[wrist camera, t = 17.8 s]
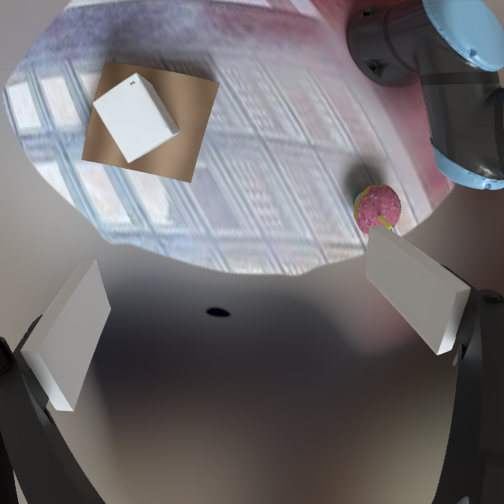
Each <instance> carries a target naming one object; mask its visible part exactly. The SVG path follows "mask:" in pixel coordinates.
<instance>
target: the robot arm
mask: <svg viewBox="0 0 504 504" xmlns="http://www.w3.org/2000/svg"><path fill="white" fill-rule="evenodd" d="M347 43H348V48H349V51H350V54H351V56H352V58H353V60H354V62H355V63H356V65H357V66H358V68H359V69H360V70H361V71H362V72H363V73H364V74H365V75H366V76H367V77H368V78H369V79H371V80H372V81H374V82H375V83H377V84H380V85H382V86H386V87H392V88H396V87H405V86H409V85H411V84H413V83H415V82H416V81H418V80H419V79H420V81H421V87H422V91H423V96H424V101H425V106H426V111H427V116H428V122H429V128H430V135H431V137H430V143H431V145H432V147H433V153H434V159H435V163H436V166H437V168H438V169H439V170H440V172H441V173H442V174H443V175H444V176H445V177H447V178H448V179H450V180H452V181H454V182H456V183H459V184H461V185H465V186H468V187H472V188H477V189H484V188H488V189H490V190H495V189H501V188H504V88H501V86H500V81H499V76H498V70H500V69H501V68H502V67H504V32H503V29H502V27H501V25H500V23H499V22H498V20H497V18H496V16H495V15H494V14H493V12H492V11H491V10H490V8H489V7H488V6H487V5H485V4H484V2H483V1H482V0H407V1H404V2H402V3H400V4H398V5H396V6H373V7H369V8H366V9H364V10H363V11H361V12H359V13H358V14H356V15H355V16H354V17H353V19H352V20H351V22H350V24H349V26H348V31H347ZM366 277H367V278H368V279H369V280H370V281H371V282H372V283H373V284H374V286H375V287H376V288H377V289H378V290H379V291H380V292H381V293H382V294H383V295H384V296H385V297H386V298H387V299H388V301H389V302H390V303H391V304H392V305H393V306H394V307H395V308H396V309H397V310H398V311H399V312H400V314H401V315H402V316H403V317H404V318H405V319H406V320H407V321H408V322H409V324H410V325H411V326H412V327H413V328H414V329H415V330H416V332H417V333H418V334H419V335H420V336H421V337H422V338H423V339H424V341H425V342H426V343H427V344H428V345H429V346H430V347H431V349H432V350H433V351H434V352H435V353H436V354H437V355H439V354H442V353H444V352H447V351H449V350H451V349H452V346H453V344H454V341H455V338H456V337H457V338H458V339H459V340H460V341H461V344H460V347H459V349H458V352H457V355H456V357H455V360H454V362H453V365H455V364H456V362H457V361H458V367H457V380H456V389H455V399H454V408H453V414H452V421H451V427H450V433H449V439H448V444H447V449H446V454H445V459H444V463H443V468H442V471H441V476H440V479H439V483H438V487H437V491H436V494H435V497H434V500H433V502H432V504H504V297H503V296H502V295H501V294H500V293H498V292H496V291H493V290H490V289H483V290H480V291H478V290H477V289H475V288H474V287H473V286H471V285H470V284H469V283H467V282H466V281H465V280H464V279H462V278H460V277H459V276H458V275H457V274H456V273H455V274H454V272H453V271H451V270H450V269H449V268H447V267H446V266H443V265H441V264H439V263H437V262H436V261H434V260H433V259H432V258H430V257H428V256H427V255H426V254H425V253H423V252H422V251H420V250H419V249H418V248H416V247H415V246H413V245H412V244H410V243H409V242H407V241H406V240H404V239H403V238H402V237H400V236H399V235H397V234H396V233H394V232H393V231H391V230H390V229H388V228H387V227H385V226H384V225H375V226H369V240H368V253H367V265H366ZM110 310H111V308H110V305H109V302H108V299H107V296H106V293H105V290H104V286H103V283H102V279H101V276H100V273H99V269H98V265H97V262H96V259H93V260H85V261H81V263H80V264H79V265H78V267H77V268H76V269H75V271H74V272H73V273H72V275H71V276H70V277H69V279H68V280H67V281H66V283H65V284H64V286H63V287H62V288H61V290H60V291H59V293H58V294H57V295H56V297H55V298H54V300H53V301H52V303H51V304H50V305H49V307H48V309H47V310H46V311H45V313H44V314H43V315H41V316H40V317H38V318H37V319H36V320H35V321H34V322H33V323H32V324H31V326H30V327H29V329H28V332H26V333H25V335H24V338H22V340H21V341H20V343H19V344H18V346H17V347H16V349H15V351H14V352H13V353H12V351H11V350H10V348H9V346H8V344H7V342H6V340H5V339H4V338H3V337H0V504H19V503H18V497H17V492H16V486H15V480H14V473H13V470H14V472H15V475H16V477H17V480H18V482H19V485H20V487H21V489H22V492H23V494H24V496H25V498H26V500H27V503H28V504H106V503H105V502H104V501H103V499H102V498H101V497H100V495H99V494H98V492H97V491H96V489H95V488H94V487H93V485H92V484H91V482H90V481H89V479H88V478H87V476H86V475H85V473H84V472H83V470H82V469H81V467H80V465H79V464H78V463H77V461H76V459H75V458H74V456H73V454H72V453H71V451H70V449H69V447H68V446H67V444H66V442H65V440H64V438H63V437H62V435H61V433H60V431H59V429H58V427H57V426H56V424H55V422H54V420H53V418H52V416H51V414H50V412H49V411H48V409H47V408H46V405H47V402H48V400H50V401H51V403H52V404H53V406H54V407H55V409H56V410H64V411H74V408H75V405H76V402H77V399H78V396H79V393H80V390H81V387H82V384H83V381H84V378H85V375H86V372H87V369H88V367H89V364H90V361H91V358H92V355H93V353H94V350H95V348H96V345H97V342H98V339H99V337H100V335H101V332H102V329H103V327H104V325H105V322H106V320H107V317H108V315H109V312H110Z"/></svg>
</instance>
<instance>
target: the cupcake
mask: <svg viewBox="0 0 504 504" xmlns="http://www.w3.org/2000/svg"><path fill="white" fill-rule="evenodd" d="M400 213H401V204H400V200H399V198H398V195H397V194H396V192H395V191H393V189H392V188H391V187H389V186H388V185H370V186H368V187H367V188H366V189H365V190H364V191H362V192H361V193H359V194H358V195H357V197H356V198H355V201H354V218H355V220H356V222H357V225H358V226H359V228H360V230H361V231H362V232H364V233H367V234H369V226H375V225H384V226H385V227H387V228H388V229H390V230H391V231H392V228H393V227H394V226H395V225H396V223H397V222H398V221H399V218H400V217H399V216H400Z"/></svg>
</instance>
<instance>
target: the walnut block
mask: <svg viewBox="0 0 504 504" xmlns="http://www.w3.org/2000/svg"><path fill="white" fill-rule="evenodd" d="M135 73H138V74H139V75H141V76H142V77H143V78H145V79H146V80H147V81H148V82H150V83H151V84H152V85H153V87H154V89H155V91H156V92H157V94H158V96H159V97H160V99H161V101H162V102H163V104H164V106H165V107H166V109H167V111H168V112H169V114H170V116H171V117H172V119H173V121H174V122H175V124H176V126H177V127H178V129H179V131H180V133H178V134H177V135H175V136H174V137H172V138H170V139H169V140H167V141H166V142H164V143H162V144H161V145H159V146H158V147H156V148H155V149H153V150H151V151H150V152H148V153H146V154H144V155H143V156H141V157H139V158H137V159H135V160H134V161H132V162H130V163H128V162H127V161H126V159H125V157H124V156H123V154H122V153H121V151H120V149H119V148H118V146H117V144H116V143H115V141H114V139H113V138H112V136H111V135H110V133H109V131H108V130H107V128H106V126H105V124H104V123H103V121H102V119H101V118H100V116H99V114H98V113H97V111H96V109H95V108H94V106H93V108H92V112H91V116H90V121H89V125H88V129H87V134H86V139H85V144H84V149H83V154H82V160H86V161H91V162H96V163H101V164H106V165H111V166H116V167H121V168H126V169H131V170H136V171H140V172H145V173H150V174H154V175H159V176H163V177H167V178H172V179H176V180H181V181H185V182H189V183H191V180H192V176H193V172H194V169H195V165H196V161H197V158H198V154H199V150H200V147H201V143H202V140H203V136H204V133H205V129H206V126H207V123H208V119H209V116H210V113H211V109H212V106H213V103H214V100H215V97H216V93H217V90H218V87H219V84H220V83H218V82H214V81H210V80H206V79H202V78H198V77H194V76H189V75H185V74H180V73H175V72H170V71H165V70H160V69H154V68H148V67H142V66H136V65H130V64H122V63H115V62H107V61H106V63H105V66H104V69H103V72H102V76H101V79H100V82H99V86H98V89H97V93H96V97H95V100H94V101H96V100H97V99H98V98H100V97H101V96H102V95H104V94H105V93H107V92H108V91H109V90H111V89H112V88H114V87H115V86H117V85H118V84H120V83H121V82H123V81H124V80H126V79H127V78H129V77H130V76H132V75H133V74H135Z"/></svg>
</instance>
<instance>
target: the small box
mask: <svg viewBox="0 0 504 504" xmlns="http://www.w3.org/2000/svg"><path fill="white" fill-rule="evenodd" d="M92 104H93V106H94V108H95V109H96V111H97V113H98V114H99V116H100V118H101V119H102V121H103V123H104V124H105V126H106V128H107V130H108V131H109V133H110V135H111V136H112V138H113V139H114V141H115V143H116V144H117V146H118V148H119V149H120V151H121V153H122V154H123V156H124V157H125V159H126V161H127V162H128V163H130V162H132V161H134V160H135V159H137V158H139V157H141V156H143V155H144V154H146V153H148V152H150V151H151V150H153V149H155V148H156V147H158V146H159V145H161V144H162V143H164V142H166V141H167V140H169V139H170V138H172V137H174V136H175V135H177V134H178V133H180V131H179V129H178V127H177V126H176V124H175V122H174V121H173V119H172V117H171V116H170V114H169V112H168V111H167V109H166V107H165V106H164V104H163V102H162V101H161V99H160V97H159V96H158V94H157V92H156V91H155V89H154V87H153V85H152V84H151V83H150V82H148V81H147V80H146V79H145V78H143V77H142V76H141V75H139V74H138V73H135V74H133V75H132V76H130V77H129V78H127V79H126V80H124V81H123V82H121V83H120V84H118V85H117V86H115V87H114V88H112V89H111V90H109V91H108V92H107V93H105V94H104V95H102V96H101V97H100V98H98V99H97V100H96V101H94V102H93V103H92Z"/></svg>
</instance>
